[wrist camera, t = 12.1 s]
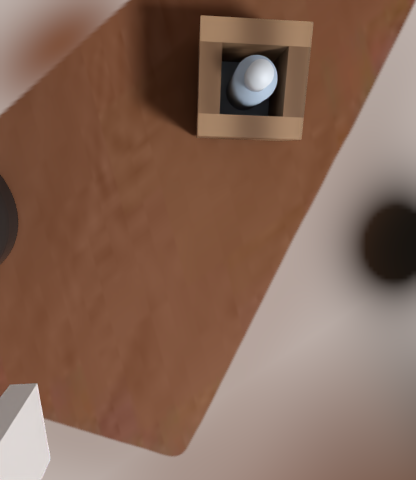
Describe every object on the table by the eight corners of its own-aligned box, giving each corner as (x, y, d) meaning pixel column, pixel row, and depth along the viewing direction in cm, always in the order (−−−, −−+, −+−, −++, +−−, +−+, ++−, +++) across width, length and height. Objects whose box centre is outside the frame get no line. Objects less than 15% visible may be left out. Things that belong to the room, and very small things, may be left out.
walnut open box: (196, 137, 35) (197, 135, 29) (198, 39, 32) (200, 15, 26) (283, 140, 35) (301, 139, 29) (291, 44, 33) (313, 21, 27)
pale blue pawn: (207, 127, 35) (212, 121, 26) (209, 52, 33) (216, 18, 24) (274, 130, 35) (301, 124, 26) (280, 55, 33) (311, 23, 25)
